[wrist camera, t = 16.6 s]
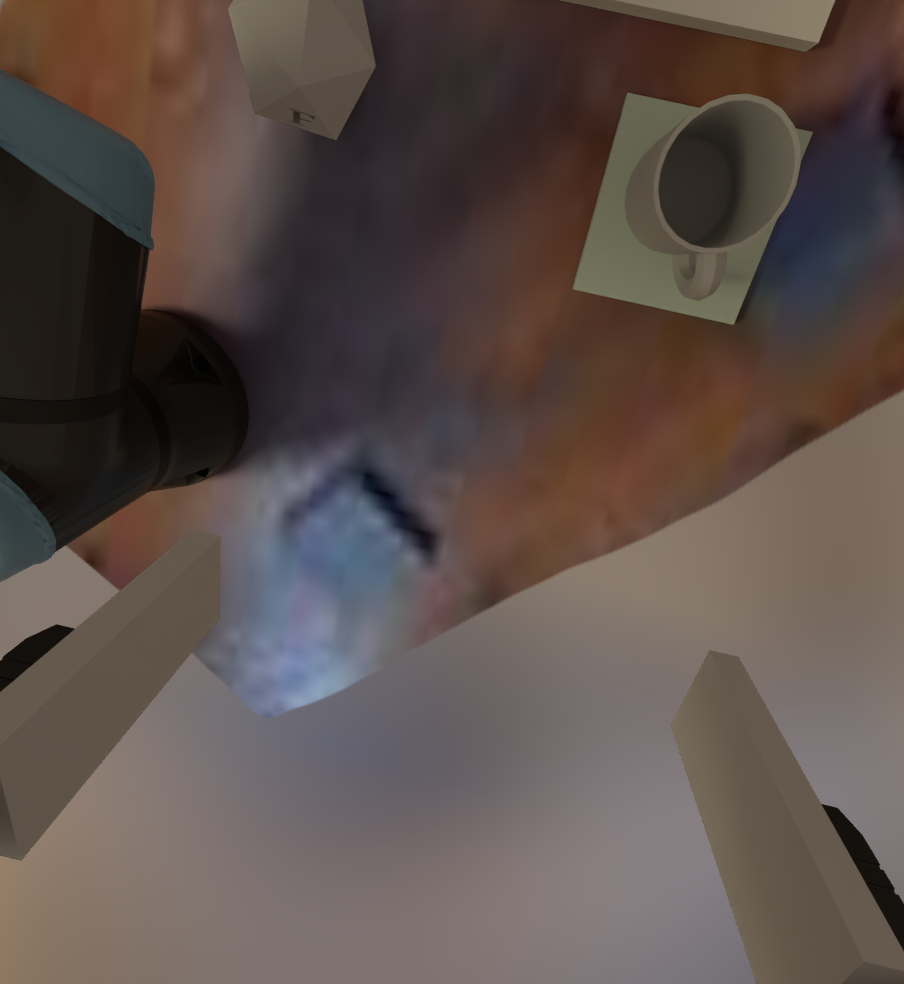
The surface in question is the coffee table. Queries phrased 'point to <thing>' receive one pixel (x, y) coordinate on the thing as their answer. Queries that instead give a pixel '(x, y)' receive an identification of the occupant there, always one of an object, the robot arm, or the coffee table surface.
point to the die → (304, 59)
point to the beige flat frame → (735, 17)
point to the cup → (713, 186)
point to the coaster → (629, 264)
